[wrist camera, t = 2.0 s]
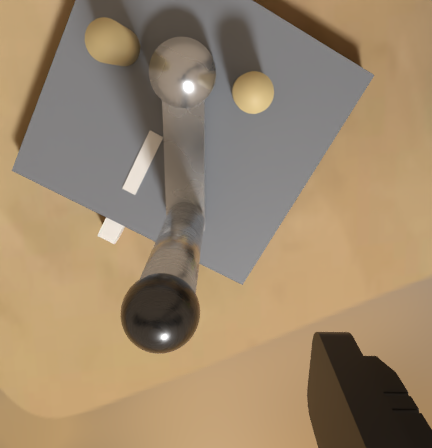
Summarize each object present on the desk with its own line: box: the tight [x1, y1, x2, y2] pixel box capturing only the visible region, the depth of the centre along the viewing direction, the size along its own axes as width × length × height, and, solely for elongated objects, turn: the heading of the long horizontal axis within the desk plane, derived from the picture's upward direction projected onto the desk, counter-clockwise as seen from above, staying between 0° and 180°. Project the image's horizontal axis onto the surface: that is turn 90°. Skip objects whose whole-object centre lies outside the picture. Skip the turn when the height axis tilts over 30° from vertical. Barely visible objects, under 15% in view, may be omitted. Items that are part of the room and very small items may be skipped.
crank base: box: [12, 0, 374, 285], centre depth 19 cm, size 13×13×4 cm
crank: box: [121, 37, 216, 353], centre depth 14 cm, size 9×3×10 cm, turn 0°
